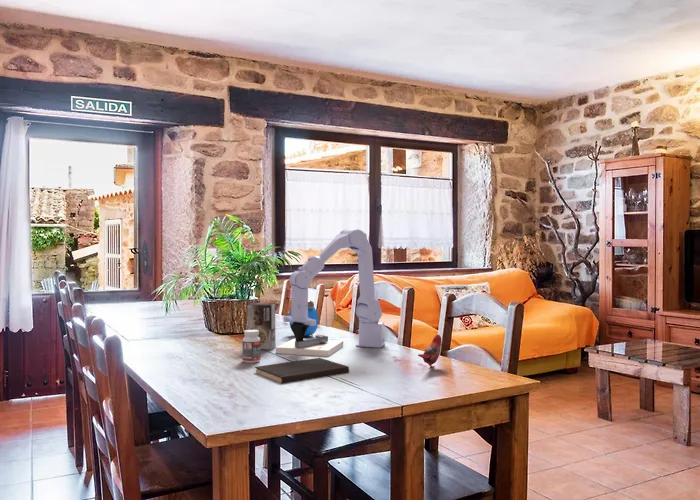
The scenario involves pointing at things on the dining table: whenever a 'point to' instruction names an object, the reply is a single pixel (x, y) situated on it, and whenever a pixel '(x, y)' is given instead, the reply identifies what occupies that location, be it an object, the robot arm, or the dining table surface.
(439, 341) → the decorative bird figurine
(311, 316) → the alarm clock
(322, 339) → the latch handle
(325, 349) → the cover plate
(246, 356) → the pill bottle
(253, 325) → the coffee box
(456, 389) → the dining table surface
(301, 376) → the hardcover book
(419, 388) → the dining table surface
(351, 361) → the dining table surface
